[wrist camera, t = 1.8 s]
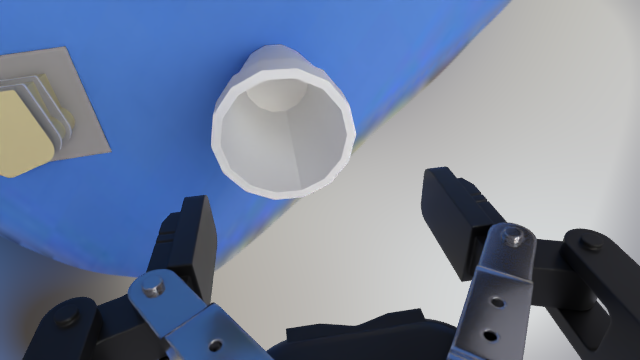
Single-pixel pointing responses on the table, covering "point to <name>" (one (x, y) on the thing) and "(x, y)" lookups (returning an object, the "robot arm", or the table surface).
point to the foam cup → (282, 126)
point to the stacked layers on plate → (44, 112)
